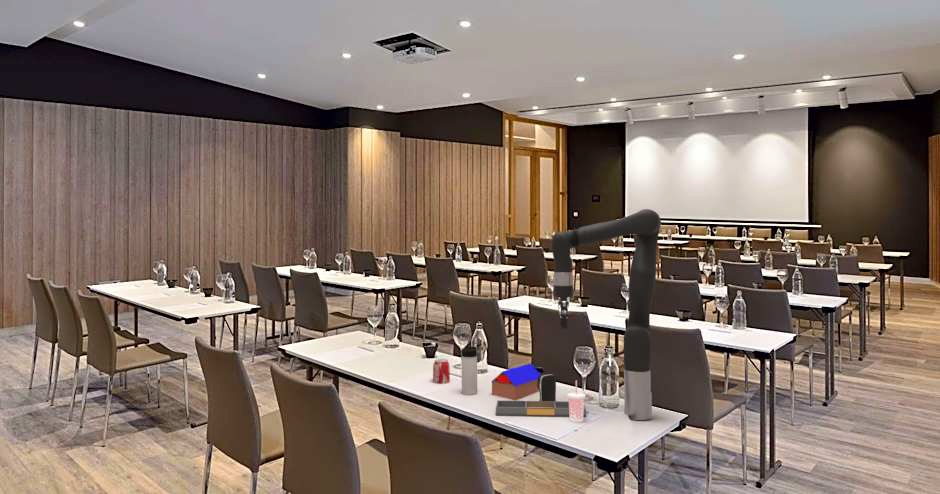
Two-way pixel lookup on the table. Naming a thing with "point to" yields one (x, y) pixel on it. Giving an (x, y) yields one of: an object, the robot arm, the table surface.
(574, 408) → the beverage cup
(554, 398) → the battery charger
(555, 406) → the tray
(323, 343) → the table surface
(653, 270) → the robot arm
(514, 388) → the house
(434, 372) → the soda can
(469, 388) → the travel mug
